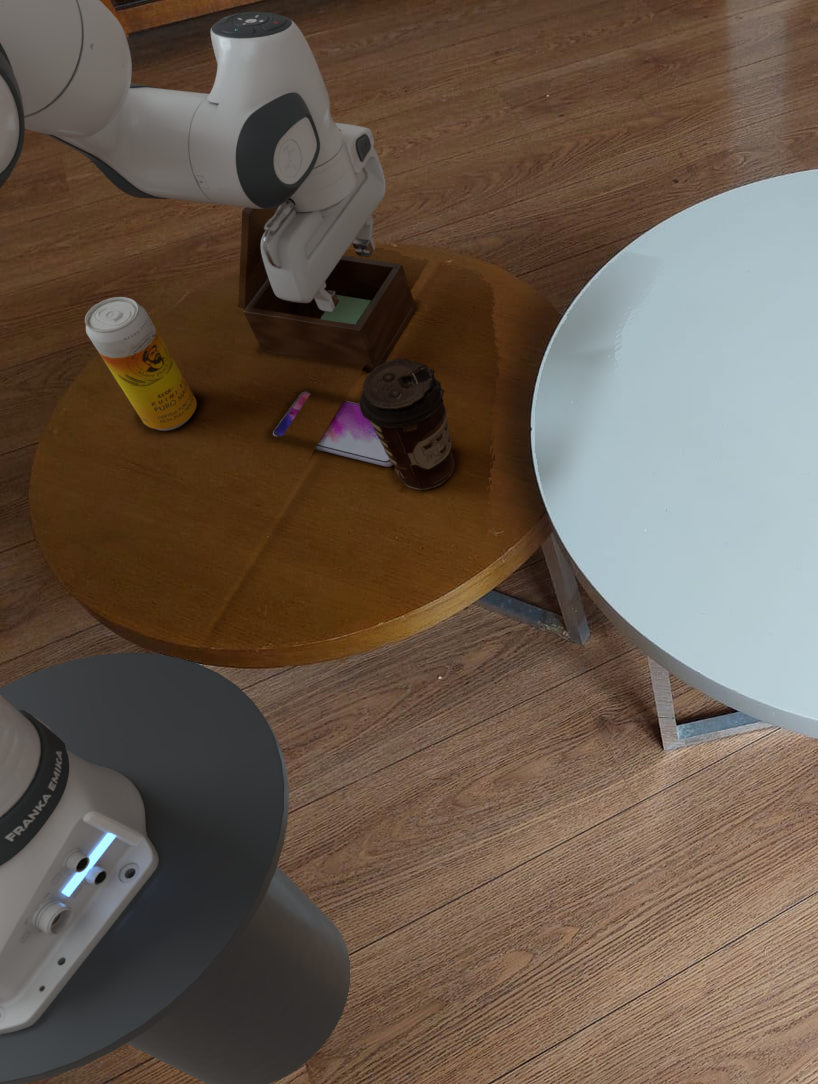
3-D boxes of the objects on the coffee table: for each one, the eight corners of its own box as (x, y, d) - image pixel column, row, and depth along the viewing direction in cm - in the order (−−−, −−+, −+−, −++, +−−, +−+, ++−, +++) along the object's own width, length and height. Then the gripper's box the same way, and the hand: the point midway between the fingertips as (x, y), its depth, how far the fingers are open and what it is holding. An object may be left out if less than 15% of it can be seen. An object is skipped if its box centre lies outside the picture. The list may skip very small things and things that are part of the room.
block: (354, 325, 126) (318, 320, 127) (365, 354, 129) (331, 348, 130) (371, 300, 128) (336, 294, 129) (381, 329, 132) (347, 323, 133)
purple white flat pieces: (390, 464, 119) (269, 435, 122) (392, 470, 120) (272, 440, 123) (420, 417, 123) (302, 389, 126) (422, 422, 124) (305, 394, 127)
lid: (301, 149, 120) (294, 145, 119) (249, 214, 113) (241, 211, 113) (292, 245, 132) (285, 242, 132) (244, 309, 125) (237, 306, 125)
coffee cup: (479, 446, 122) (454, 360, 111) (451, 504, 117) (422, 419, 106) (405, 434, 123) (374, 348, 112) (375, 490, 118) (339, 405, 108)
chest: (416, 308, 135) (402, 264, 130) (376, 373, 129) (359, 330, 123) (308, 291, 138) (290, 247, 132) (264, 355, 131) (242, 311, 126)
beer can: (177, 439, 123) (115, 339, 111) (132, 426, 125) (67, 325, 113) (210, 403, 127) (154, 302, 115) (167, 390, 128) (107, 288, 116)
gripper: (288, 240, 106) (332, 346, 117) (378, 120, 117) (410, 227, 129) (229, 231, 107) (279, 337, 118) (324, 113, 118) (361, 220, 130)
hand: (348, 279), depth 123 cm, fingers open, 8 cm apart
